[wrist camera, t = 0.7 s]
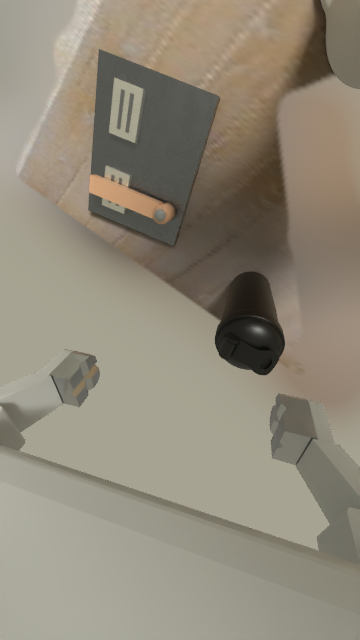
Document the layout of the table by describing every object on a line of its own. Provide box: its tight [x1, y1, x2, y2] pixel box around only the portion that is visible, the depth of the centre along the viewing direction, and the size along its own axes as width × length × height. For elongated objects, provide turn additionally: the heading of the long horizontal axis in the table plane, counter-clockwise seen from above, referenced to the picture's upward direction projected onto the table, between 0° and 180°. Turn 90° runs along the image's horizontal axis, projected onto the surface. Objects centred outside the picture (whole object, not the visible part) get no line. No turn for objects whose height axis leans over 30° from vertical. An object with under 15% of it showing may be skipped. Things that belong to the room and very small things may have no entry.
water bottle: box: [215, 272, 285, 375], centre depth 41 cm, size 10×10×23 cm
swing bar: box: [89, 175, 176, 224], centre depth 43 cm, size 17×3×5 cm, turn 72°
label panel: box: [88, 49, 220, 246], centre depth 42 cm, size 24×20×3 cm
